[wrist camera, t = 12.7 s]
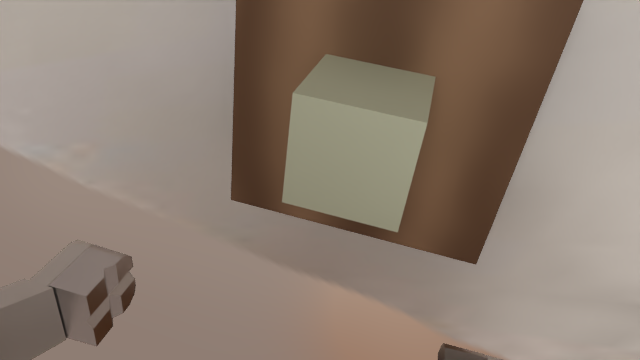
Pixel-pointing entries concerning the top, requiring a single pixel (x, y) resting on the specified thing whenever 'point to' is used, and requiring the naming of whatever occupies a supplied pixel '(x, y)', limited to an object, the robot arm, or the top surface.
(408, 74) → the sage block
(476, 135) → the walnut base
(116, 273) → the robot arm
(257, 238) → the top surface
